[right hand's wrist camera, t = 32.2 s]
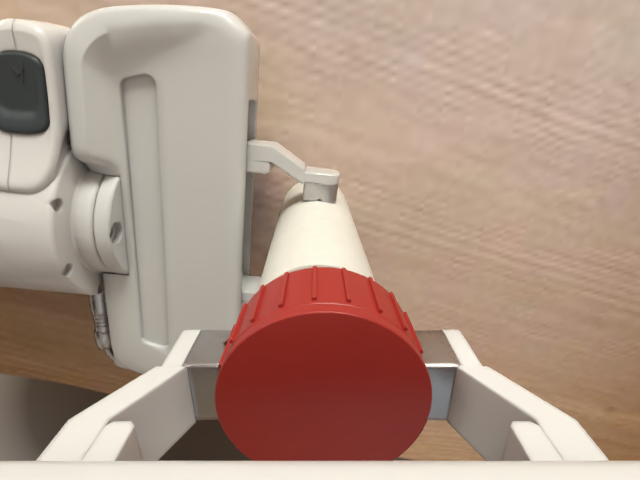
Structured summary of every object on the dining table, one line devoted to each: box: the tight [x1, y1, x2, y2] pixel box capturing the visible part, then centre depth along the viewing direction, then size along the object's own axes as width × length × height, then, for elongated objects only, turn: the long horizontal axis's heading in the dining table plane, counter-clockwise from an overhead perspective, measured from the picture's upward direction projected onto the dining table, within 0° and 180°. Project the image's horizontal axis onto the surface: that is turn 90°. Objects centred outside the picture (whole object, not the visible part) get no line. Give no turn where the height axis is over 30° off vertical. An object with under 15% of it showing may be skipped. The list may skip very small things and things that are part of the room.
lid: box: [215, 266, 432, 461], centre depth 9 cm, size 5×5×2 cm
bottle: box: [257, 182, 375, 292], centre depth 17 cm, size 4×4×16 cm
